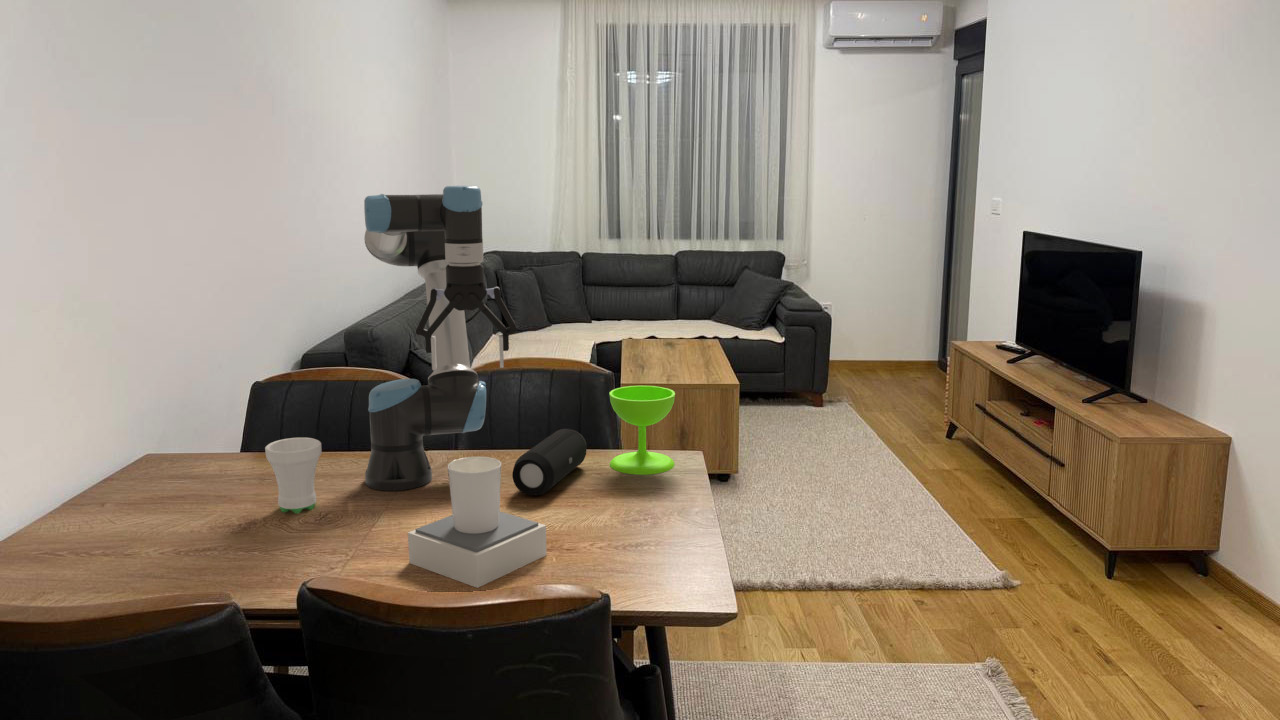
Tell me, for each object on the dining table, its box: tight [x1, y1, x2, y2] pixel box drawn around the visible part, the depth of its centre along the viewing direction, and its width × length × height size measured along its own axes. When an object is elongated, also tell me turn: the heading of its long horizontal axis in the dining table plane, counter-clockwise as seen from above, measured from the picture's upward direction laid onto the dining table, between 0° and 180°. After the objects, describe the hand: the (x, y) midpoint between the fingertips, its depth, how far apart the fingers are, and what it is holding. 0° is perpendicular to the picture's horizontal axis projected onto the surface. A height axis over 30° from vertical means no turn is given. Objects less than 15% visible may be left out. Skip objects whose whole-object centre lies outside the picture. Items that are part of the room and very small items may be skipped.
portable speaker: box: [511, 428, 587, 496], centre depth 228 cm, size 26×10×10 cm, turn 163°
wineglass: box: [608, 385, 676, 476], centre depth 239 cm, size 16×16×18 cm
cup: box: [264, 437, 322, 515], centre depth 209 cm, size 11×11×14 cm
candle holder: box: [446, 456, 502, 534], centre depth 182 cm, size 10×10×12 cm
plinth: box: [407, 511, 548, 589], centre depth 184 cm, size 18×18×7 cm
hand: (468, 367), depth 201 cm, fingers open, 13 cm apart
